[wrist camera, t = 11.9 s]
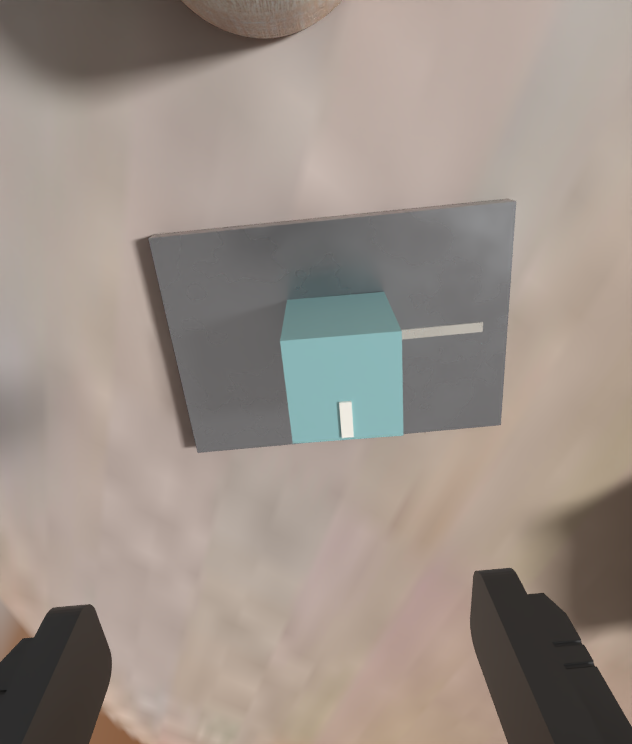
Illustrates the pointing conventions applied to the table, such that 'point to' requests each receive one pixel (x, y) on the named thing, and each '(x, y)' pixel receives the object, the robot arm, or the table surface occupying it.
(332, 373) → the teal plastic block
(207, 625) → the table surface
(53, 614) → the robot arm
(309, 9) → the planter
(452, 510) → the table surface
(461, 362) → the shaft plate
